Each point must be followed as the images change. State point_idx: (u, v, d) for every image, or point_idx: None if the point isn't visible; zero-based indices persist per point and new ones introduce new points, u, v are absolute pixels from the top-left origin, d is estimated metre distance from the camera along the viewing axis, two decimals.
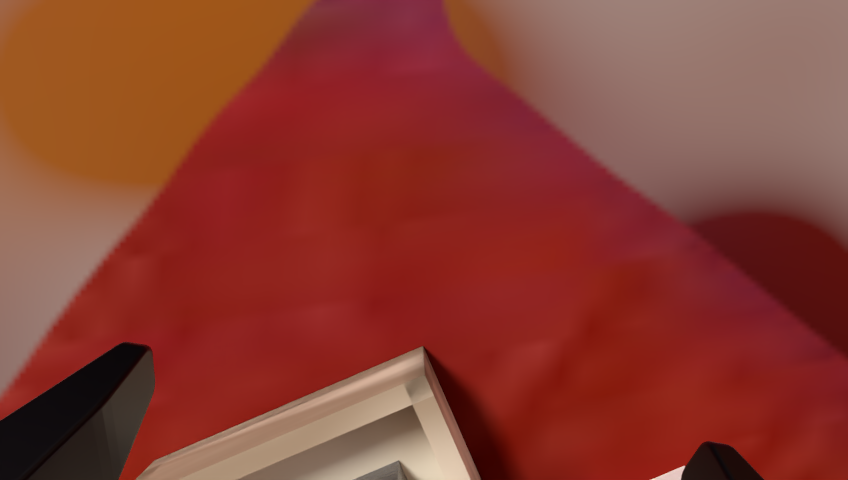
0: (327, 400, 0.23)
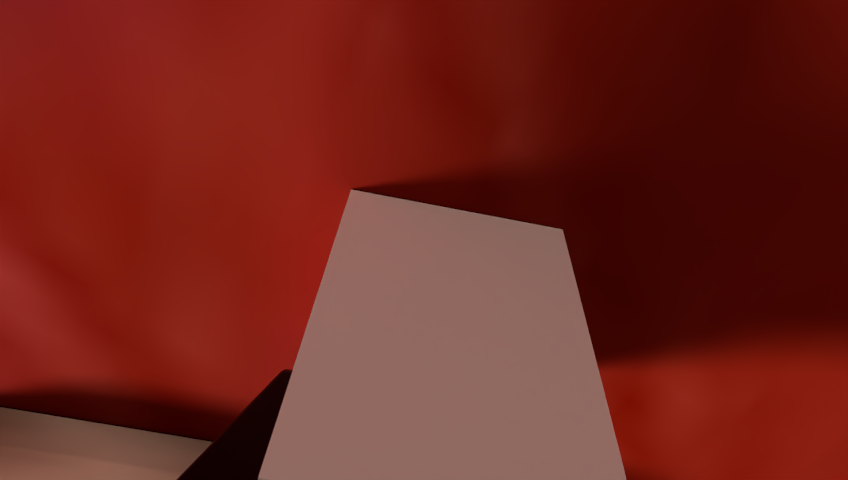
0: None
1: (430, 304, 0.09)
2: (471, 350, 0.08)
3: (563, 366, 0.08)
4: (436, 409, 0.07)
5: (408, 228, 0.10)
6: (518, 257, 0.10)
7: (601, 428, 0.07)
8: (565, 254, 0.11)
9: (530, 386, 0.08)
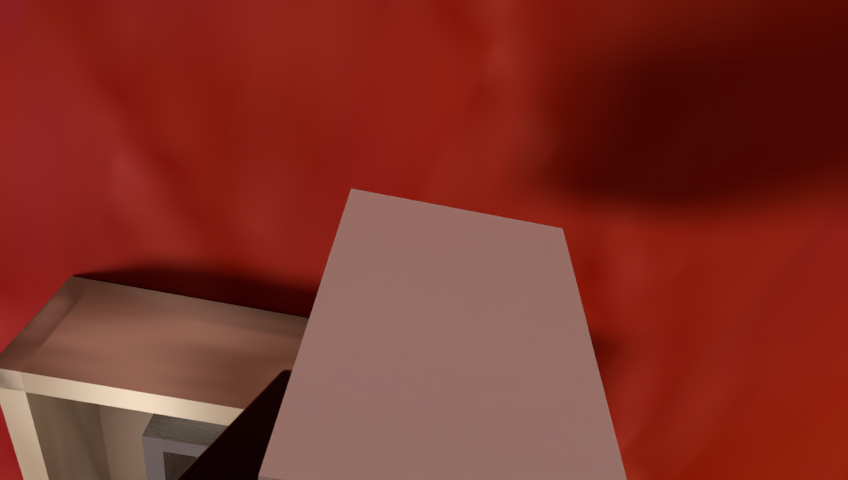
0: None
1: (430, 303, 0.09)
2: (471, 349, 0.08)
3: (563, 365, 0.08)
4: (437, 407, 0.07)
5: (408, 227, 0.10)
6: (518, 256, 0.10)
7: (601, 426, 0.07)
8: (565, 254, 0.11)
9: (530, 385, 0.08)
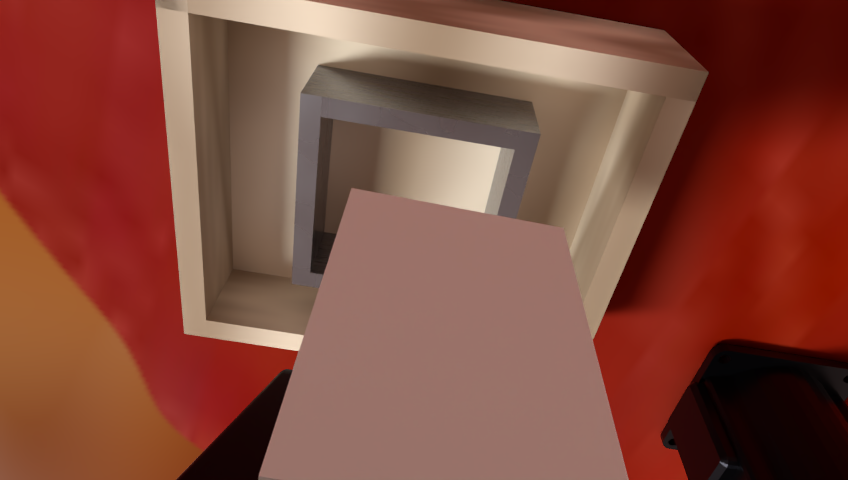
0: None
1: (432, 302, 0.09)
2: (473, 349, 0.08)
3: (564, 364, 0.08)
4: (438, 408, 0.07)
5: (408, 226, 0.10)
6: (519, 255, 0.10)
7: (603, 426, 0.07)
8: (566, 253, 0.11)
9: (531, 385, 0.08)
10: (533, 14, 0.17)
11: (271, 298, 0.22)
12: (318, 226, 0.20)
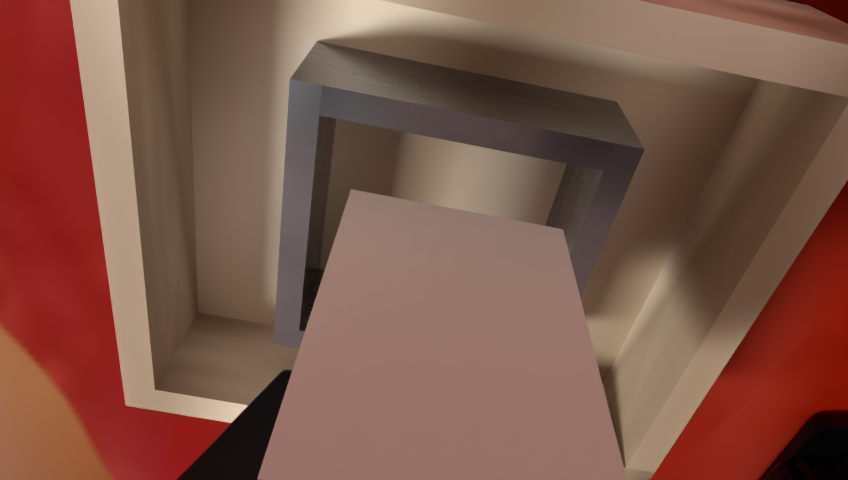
0: None
1: (431, 304, 0.09)
2: (471, 350, 0.08)
3: (563, 366, 0.08)
4: (436, 410, 0.07)
5: (408, 228, 0.10)
6: (518, 257, 0.10)
7: (602, 428, 0.07)
8: (566, 254, 0.11)
9: (530, 386, 0.08)
10: None
11: (246, 356, 0.17)
12: (312, 266, 0.15)
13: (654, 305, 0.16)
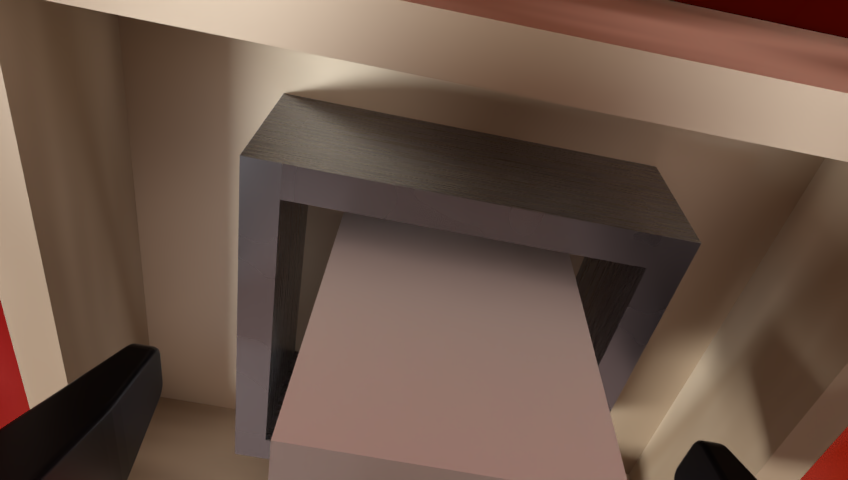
0: None
1: (432, 285, 0.09)
2: (471, 328, 0.08)
3: (559, 343, 0.09)
4: (439, 381, 0.08)
5: None
6: None
7: (595, 399, 0.08)
8: None
9: (527, 361, 0.08)
10: (683, 14, 0.09)
11: (208, 453, 0.14)
12: (281, 360, 0.12)
13: (693, 398, 0.13)
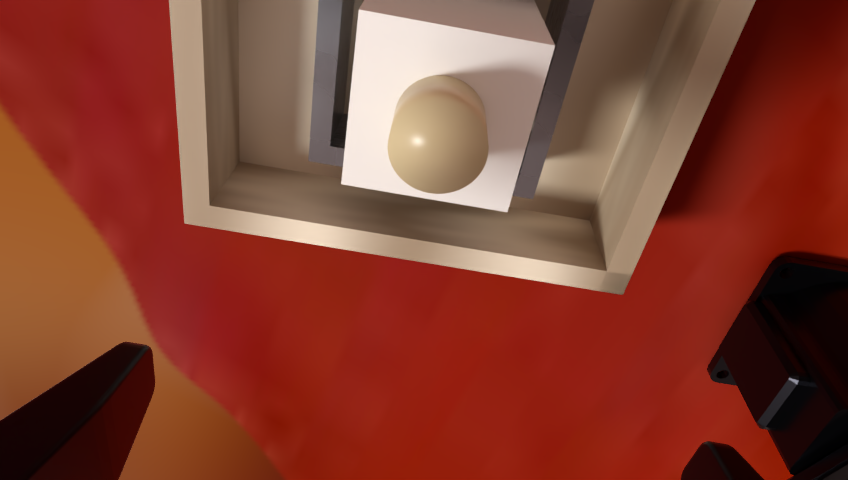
0: None
1: None
2: (466, 2, 0.14)
3: (520, 12, 0.14)
4: (447, 10, 0.13)
5: None
6: None
7: (539, 26, 0.13)
8: None
9: (500, 13, 0.14)
10: None
11: (283, 189, 0.20)
12: (339, 94, 0.18)
13: (628, 133, 0.19)
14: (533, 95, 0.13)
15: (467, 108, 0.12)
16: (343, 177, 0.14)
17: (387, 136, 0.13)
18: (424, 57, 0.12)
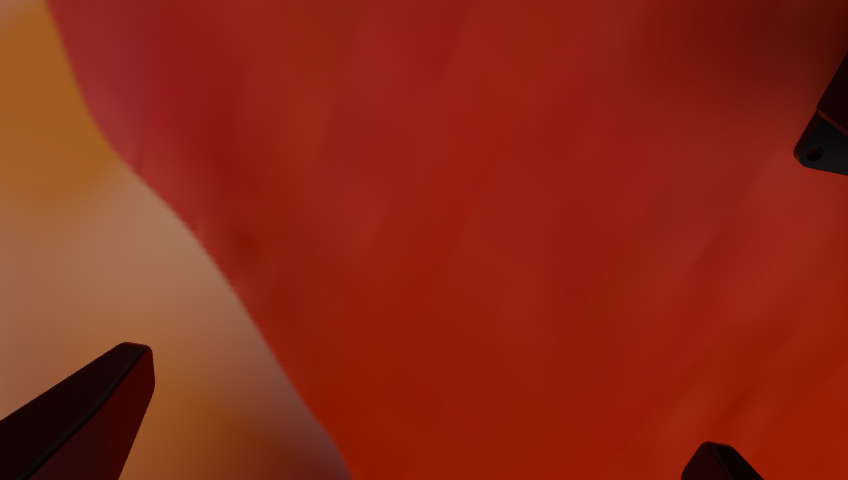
0: None
1: None
2: None
3: None
4: None
5: None
6: None
7: None
8: None
9: None
10: None
11: None
12: None
13: None
14: None
15: None
16: None
17: None
18: None
